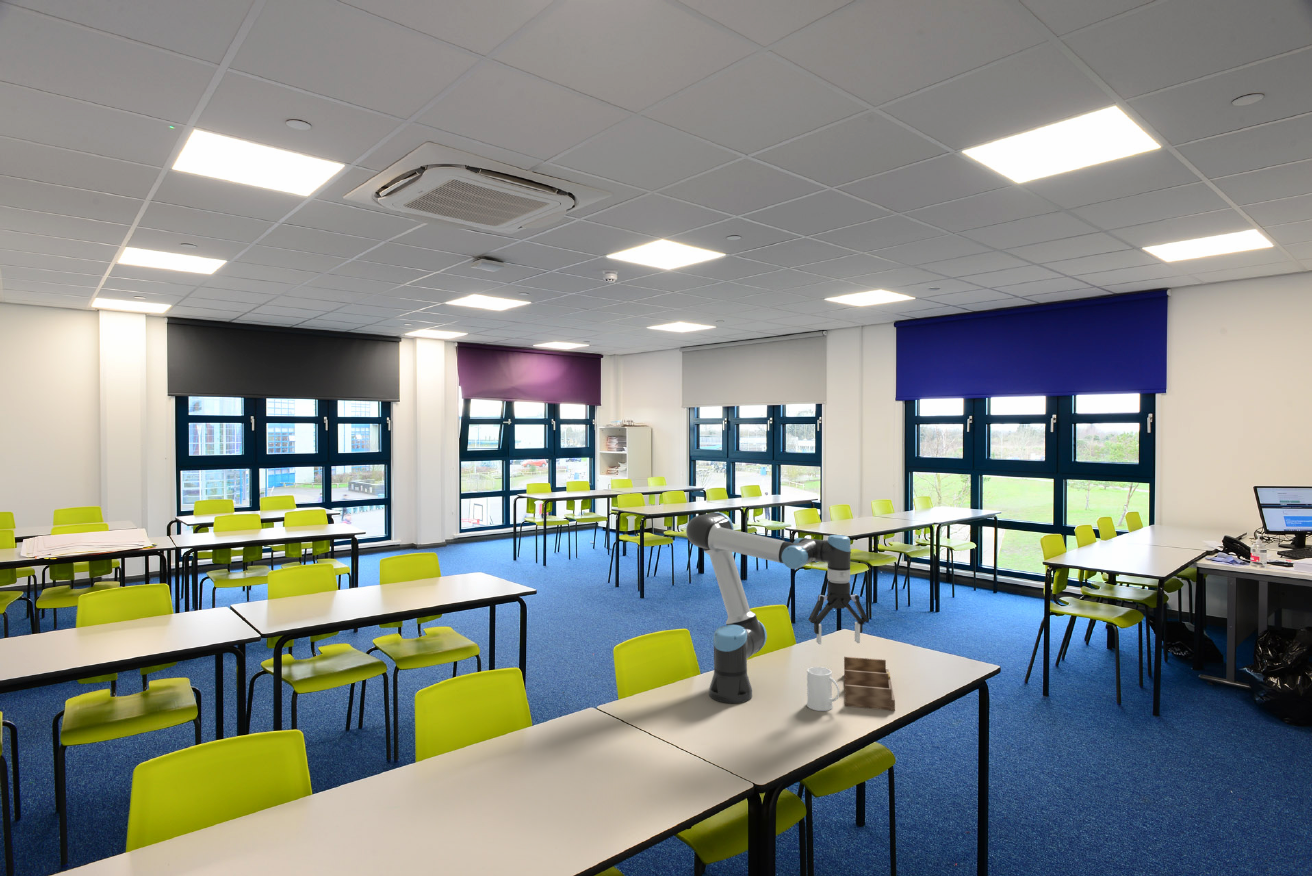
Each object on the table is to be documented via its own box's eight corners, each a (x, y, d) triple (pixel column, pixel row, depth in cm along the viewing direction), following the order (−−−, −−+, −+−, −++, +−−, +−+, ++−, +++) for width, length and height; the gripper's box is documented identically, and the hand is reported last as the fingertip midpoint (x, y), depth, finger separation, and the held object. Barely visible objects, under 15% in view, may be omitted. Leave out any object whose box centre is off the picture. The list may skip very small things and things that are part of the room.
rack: (845, 705, 226) (844, 685, 226) (844, 674, 255) (844, 656, 254) (895, 710, 221) (894, 689, 221) (888, 678, 250) (888, 659, 250)
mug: (846, 709, 223) (845, 674, 222) (829, 716, 217) (829, 680, 217) (817, 698, 232) (817, 664, 232) (801, 705, 227) (801, 670, 227)
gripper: (806, 584, 223) (806, 647, 223) (878, 582, 225) (877, 645, 226) (799, 579, 231) (799, 639, 231) (869, 577, 233) (868, 638, 233)
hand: (838, 642), depth 228 cm, fingers open, 13 cm apart
